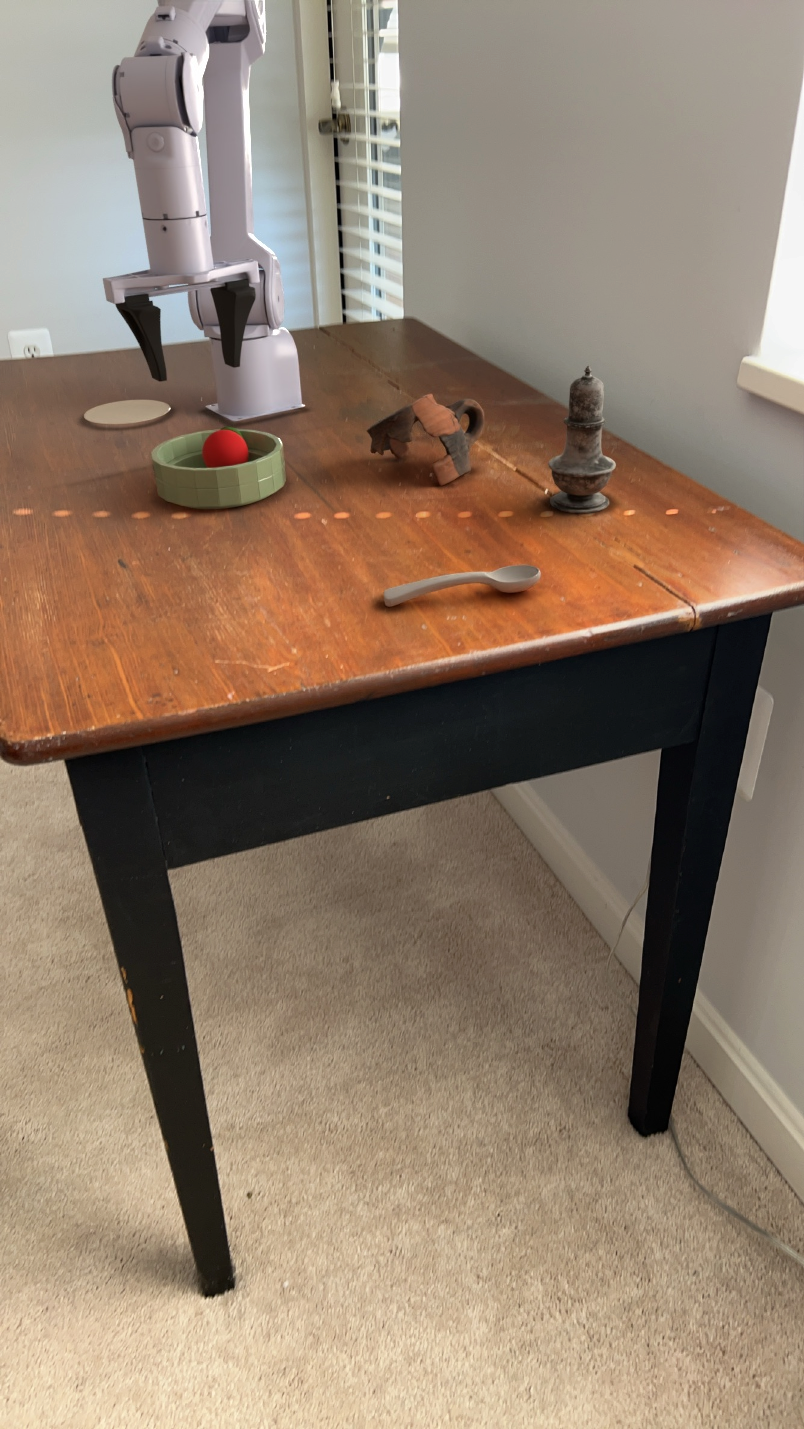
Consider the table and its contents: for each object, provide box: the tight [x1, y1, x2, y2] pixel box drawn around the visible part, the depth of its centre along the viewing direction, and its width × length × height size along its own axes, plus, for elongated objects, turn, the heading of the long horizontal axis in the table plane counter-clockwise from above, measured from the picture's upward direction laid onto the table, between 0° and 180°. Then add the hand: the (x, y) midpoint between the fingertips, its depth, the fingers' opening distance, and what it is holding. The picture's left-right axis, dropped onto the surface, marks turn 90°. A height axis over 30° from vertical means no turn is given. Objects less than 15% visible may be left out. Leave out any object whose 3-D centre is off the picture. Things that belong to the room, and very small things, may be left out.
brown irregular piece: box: [366, 393, 486, 487], centre depth 99 cm, size 12×10×8 cm
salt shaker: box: [547, 365, 617, 514], centre depth 88 cm, size 6×6×12 cm
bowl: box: [150, 428, 287, 510], centre depth 96 cm, size 12×12×4 cm
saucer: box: [83, 399, 171, 425], centre depth 119 cm, size 10×10×1 cm
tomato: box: [202, 426, 248, 468], centre depth 98 cm, size 4×4×5 cm
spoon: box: [383, 564, 542, 608], centre depth 76 cm, size 3×12×2 cm, turn 100°
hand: (196, 372), depth 97 cm, fingers open, 7 cm apart
